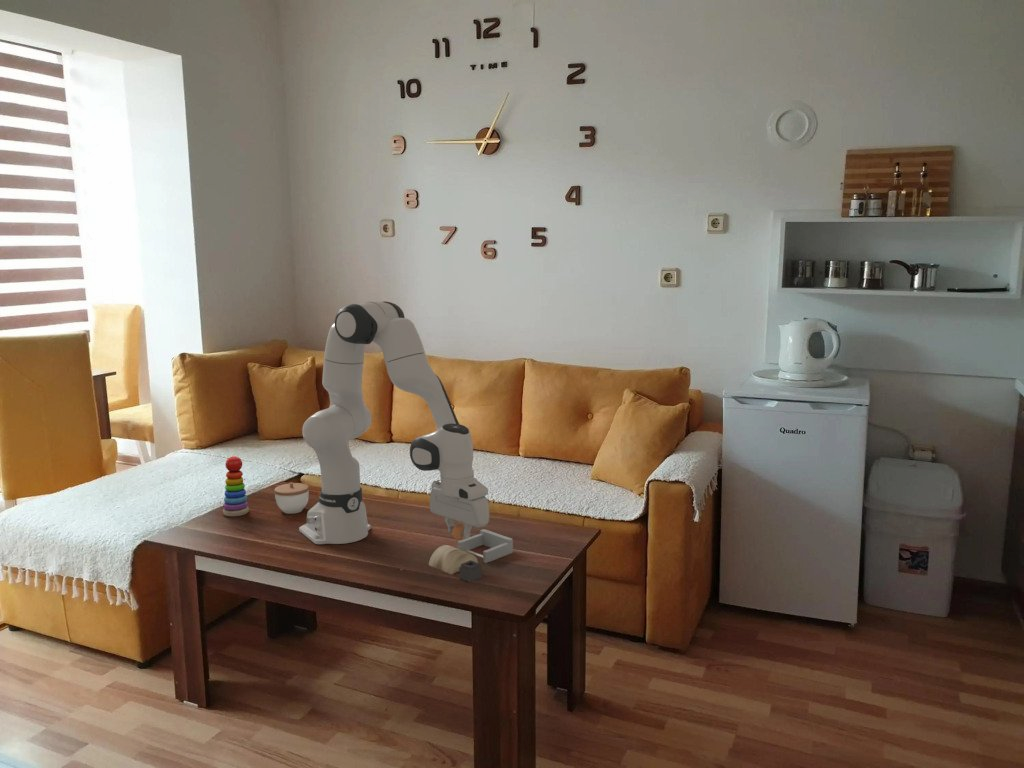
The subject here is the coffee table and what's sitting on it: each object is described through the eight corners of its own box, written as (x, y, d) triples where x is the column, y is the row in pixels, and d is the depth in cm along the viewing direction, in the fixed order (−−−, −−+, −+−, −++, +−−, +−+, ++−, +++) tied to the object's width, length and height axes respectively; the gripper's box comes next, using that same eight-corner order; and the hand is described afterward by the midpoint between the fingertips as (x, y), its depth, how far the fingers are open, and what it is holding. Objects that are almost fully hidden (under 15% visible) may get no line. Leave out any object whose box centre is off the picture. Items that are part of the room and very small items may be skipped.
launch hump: (428, 586, 212) (427, 550, 211) (456, 575, 219) (456, 540, 218) (451, 596, 206) (450, 559, 204) (479, 584, 213) (478, 549, 211)
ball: (448, 539, 212) (448, 525, 211) (460, 535, 215) (459, 521, 214) (458, 543, 209) (458, 528, 208) (470, 539, 212) (469, 524, 211)
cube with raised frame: (459, 578, 203) (459, 564, 202) (471, 573, 205) (470, 559, 205) (470, 582, 200) (469, 568, 199) (481, 577, 203) (481, 563, 202)
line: (465, 551, 221) (465, 550, 221) (468, 550, 221) (468, 549, 221) (488, 559, 215) (488, 559, 215) (490, 558, 215) (490, 558, 215)
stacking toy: (244, 517, 251) (240, 460, 248) (219, 517, 251) (215, 460, 248) (252, 509, 259) (248, 453, 256) (228, 509, 259) (224, 453, 256)
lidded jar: (281, 505, 263) (279, 478, 261) (313, 505, 263) (312, 478, 261) (271, 516, 252) (269, 487, 251) (305, 516, 252) (303, 487, 250)
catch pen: (457, 552, 220) (457, 538, 220) (484, 542, 227) (483, 528, 227) (486, 563, 212) (486, 548, 212) (512, 552, 219) (512, 538, 219)
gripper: (423, 480, 214) (425, 529, 217) (474, 495, 200) (476, 547, 202) (440, 475, 219) (442, 523, 221) (492, 489, 205) (493, 540, 207)
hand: (459, 535), depth 212 cm, fingers closed on ball, 4 cm apart
